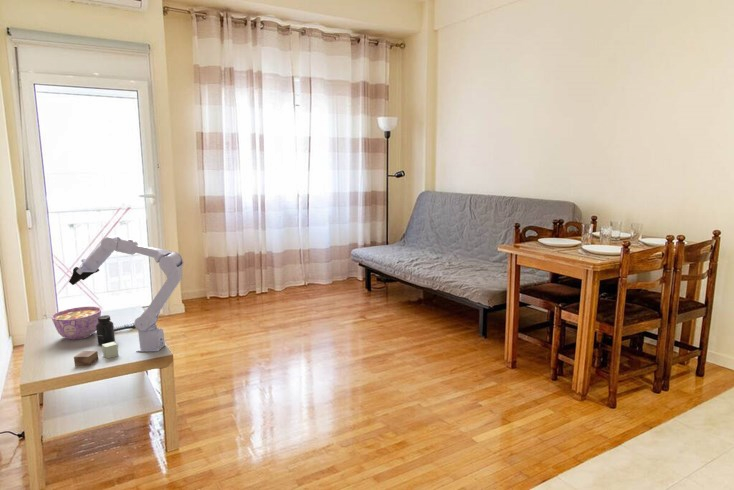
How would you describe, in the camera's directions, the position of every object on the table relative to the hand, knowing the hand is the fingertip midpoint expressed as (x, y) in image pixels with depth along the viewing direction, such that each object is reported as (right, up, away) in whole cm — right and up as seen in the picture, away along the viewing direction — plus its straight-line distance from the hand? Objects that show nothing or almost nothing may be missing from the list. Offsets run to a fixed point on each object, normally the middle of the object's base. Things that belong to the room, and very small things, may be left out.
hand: (76, 280), depth 202 cm
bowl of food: (-12, -28, +22) cm, 37 cm away
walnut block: (+9, -33, -8) cm, 35 cm away
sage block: (+15, -31, -1) cm, 35 cm away
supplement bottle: (+5, -29, +14) cm, 33 cm away
